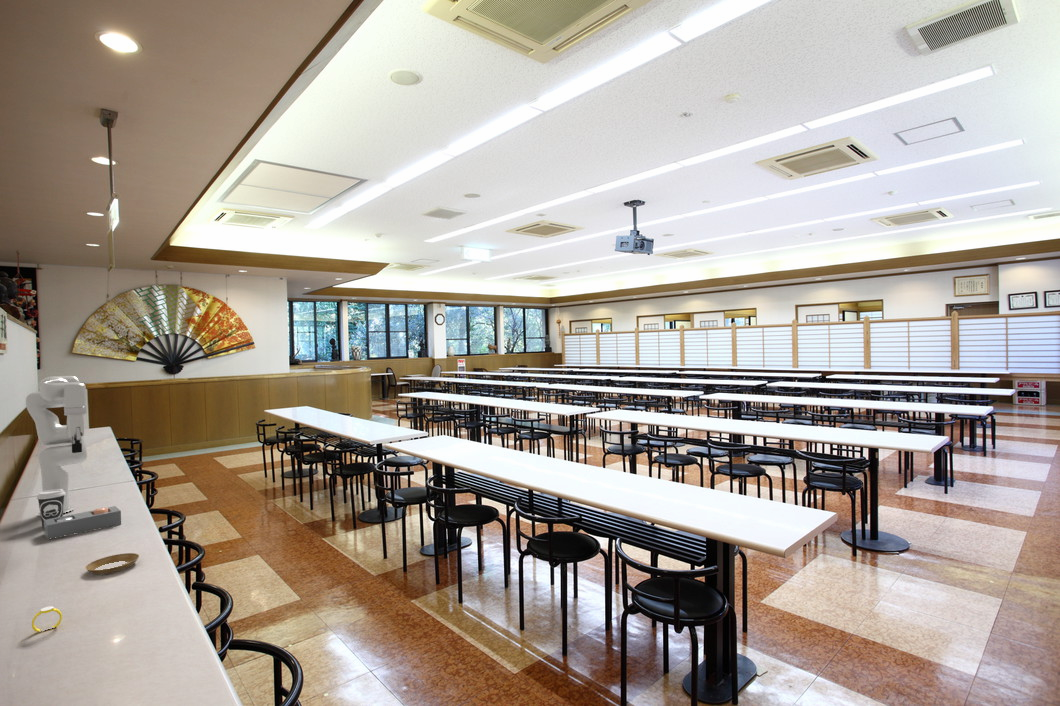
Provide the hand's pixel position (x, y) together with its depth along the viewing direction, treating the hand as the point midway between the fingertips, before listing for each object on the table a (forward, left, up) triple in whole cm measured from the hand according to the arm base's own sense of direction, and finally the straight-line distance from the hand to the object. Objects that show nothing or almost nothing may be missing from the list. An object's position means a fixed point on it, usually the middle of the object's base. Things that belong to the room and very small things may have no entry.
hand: (77, 452), depth 232 cm
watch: (+111, -22, -32) cm, 118 cm away
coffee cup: (-9, -8, -32) cm, 34 cm away
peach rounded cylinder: (+10, +6, -31) cm, 33 cm away
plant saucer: (+73, -1, -33) cm, 80 cm away
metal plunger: (+10, -6, -32) cm, 34 cm away
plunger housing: (+10, 0, -32) cm, 34 cm away
